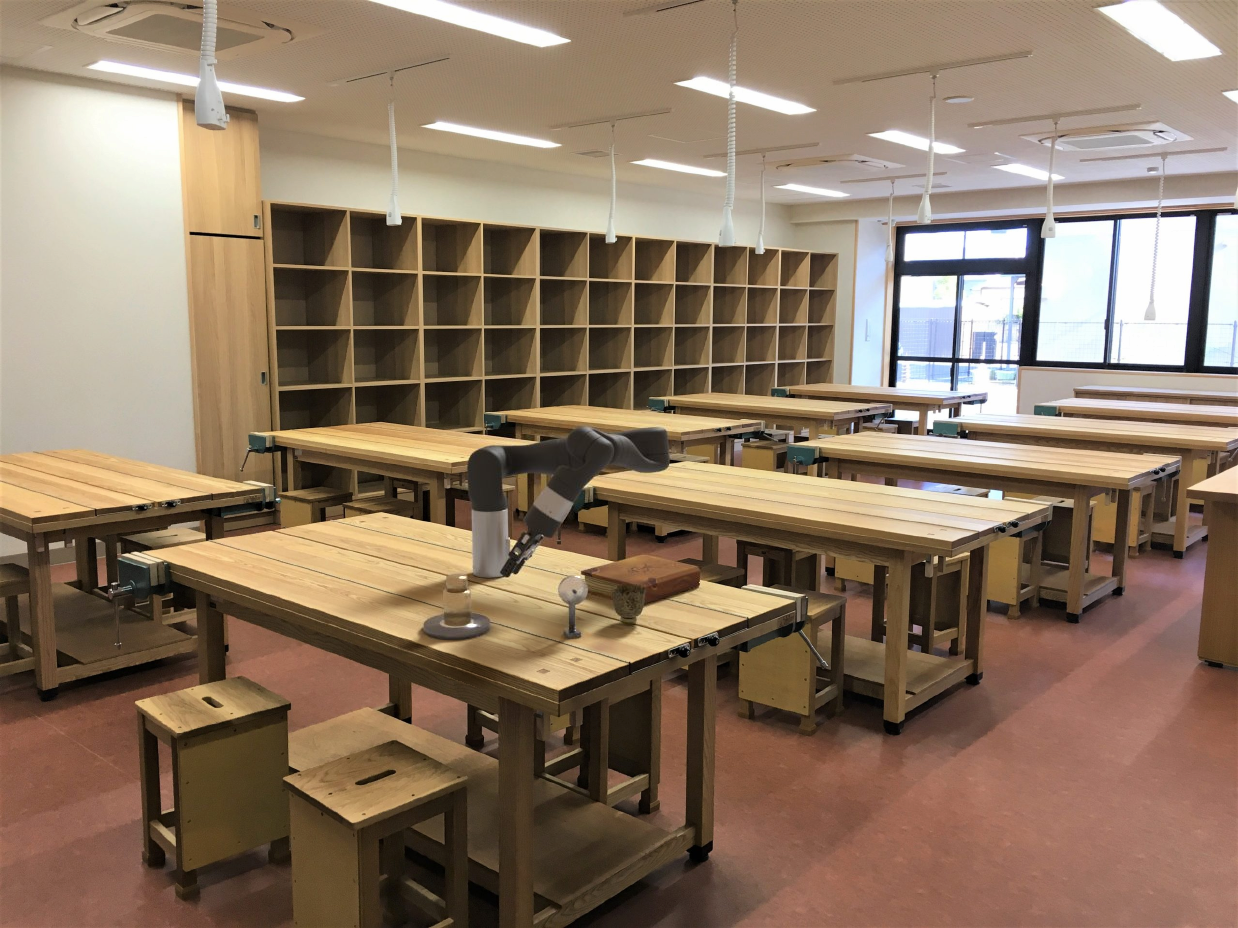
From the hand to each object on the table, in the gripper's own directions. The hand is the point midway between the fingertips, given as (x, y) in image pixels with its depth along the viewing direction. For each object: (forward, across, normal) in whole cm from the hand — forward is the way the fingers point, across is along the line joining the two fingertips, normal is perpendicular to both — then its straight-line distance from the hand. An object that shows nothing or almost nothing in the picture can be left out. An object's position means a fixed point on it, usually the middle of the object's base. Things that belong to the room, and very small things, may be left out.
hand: (508, 573), depth 206 cm
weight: (+14, -4, +3) cm, 15 cm away
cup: (-5, +4, -28) cm, 28 cm away
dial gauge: (+2, -6, -19) cm, 20 cm away
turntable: (+15, -4, +2) cm, 16 cm away
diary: (-9, +30, -26) cm, 41 cm away
